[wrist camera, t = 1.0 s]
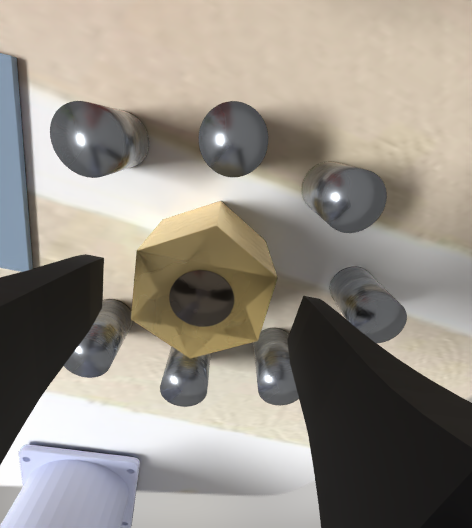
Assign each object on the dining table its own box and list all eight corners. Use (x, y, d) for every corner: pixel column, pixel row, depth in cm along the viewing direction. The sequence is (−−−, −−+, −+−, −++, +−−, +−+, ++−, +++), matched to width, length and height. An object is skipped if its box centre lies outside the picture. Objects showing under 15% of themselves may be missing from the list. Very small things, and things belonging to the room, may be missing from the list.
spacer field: (327, 380, 18) (346, 429, 15) (91, 343, 16) (60, 389, 13) (431, 159, 12) (493, 167, 9) (96, 74, 11) (46, 52, 8)
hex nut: (245, 313, 16) (249, 368, 12) (153, 297, 15) (128, 349, 11) (273, 212, 13) (289, 241, 10) (166, 188, 13) (139, 210, 9)
